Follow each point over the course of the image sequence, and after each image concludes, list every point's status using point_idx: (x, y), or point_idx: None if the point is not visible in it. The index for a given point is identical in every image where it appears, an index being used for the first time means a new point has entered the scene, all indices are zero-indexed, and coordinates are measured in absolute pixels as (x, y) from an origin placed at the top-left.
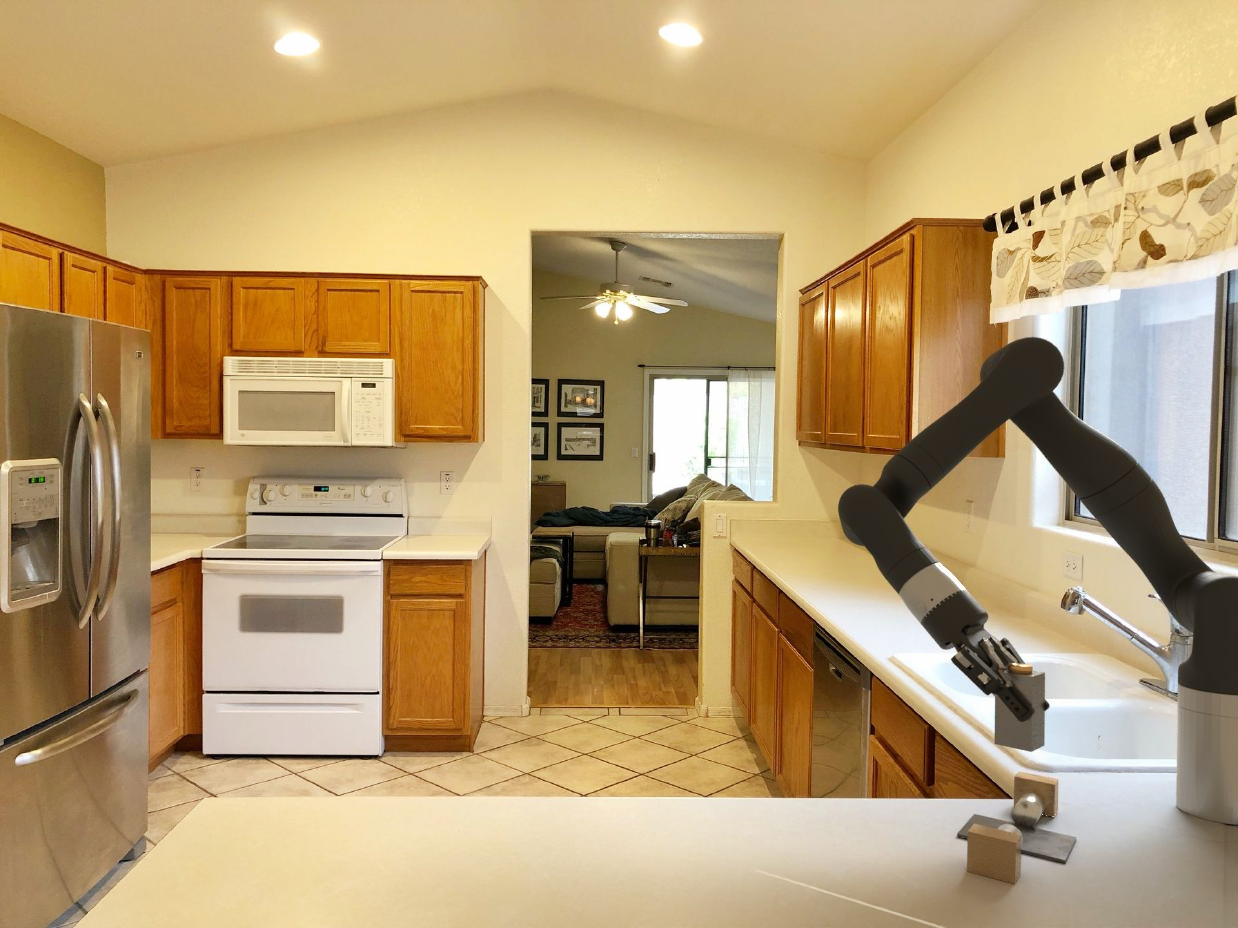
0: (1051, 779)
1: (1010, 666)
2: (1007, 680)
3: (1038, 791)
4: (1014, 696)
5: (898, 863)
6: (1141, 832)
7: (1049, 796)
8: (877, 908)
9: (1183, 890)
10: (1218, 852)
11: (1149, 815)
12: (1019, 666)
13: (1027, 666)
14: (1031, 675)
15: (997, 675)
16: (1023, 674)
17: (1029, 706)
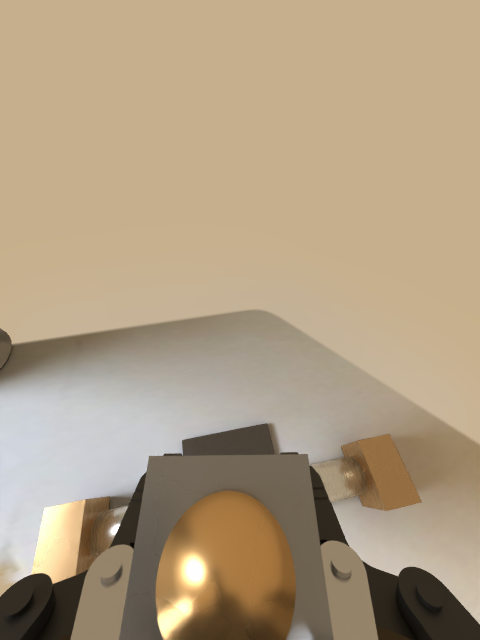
0: (54, 517)
1: (286, 627)
2: (340, 578)
3: (90, 528)
4: (327, 517)
5: (463, 594)
6: (94, 398)
7: (95, 506)
8: None
9: (235, 336)
10: (112, 335)
11: (17, 409)
12: (269, 558)
13: (231, 518)
14: (279, 469)
15: (425, 632)
16: (289, 510)
17: None
